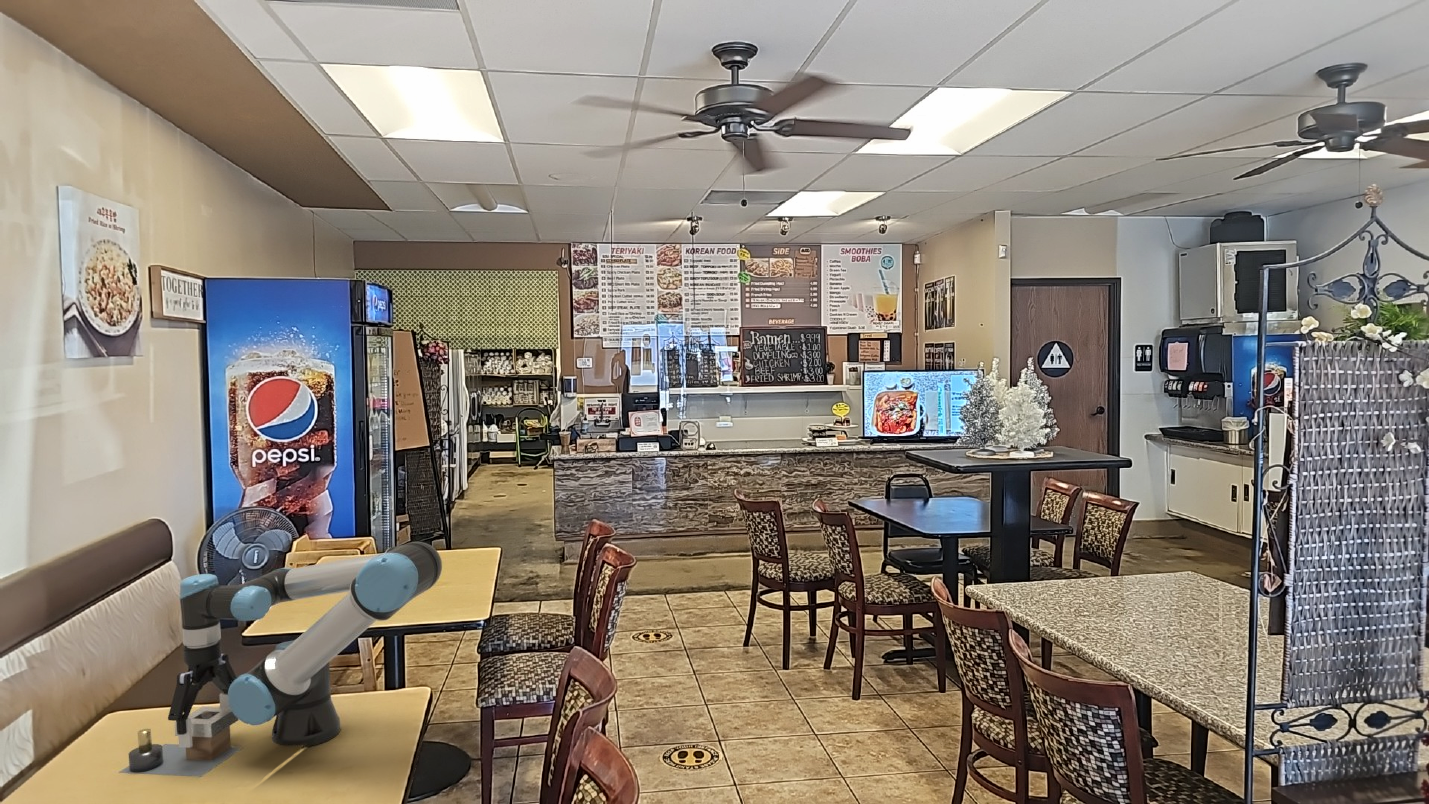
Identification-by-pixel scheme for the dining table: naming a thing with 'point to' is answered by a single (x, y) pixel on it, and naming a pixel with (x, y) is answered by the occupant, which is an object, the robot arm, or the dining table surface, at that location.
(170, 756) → the board
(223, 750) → the stand
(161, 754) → the hub
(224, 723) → the silver square ring
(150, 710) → the dining table surface
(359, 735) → the dining table surface
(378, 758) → the dining table surface
